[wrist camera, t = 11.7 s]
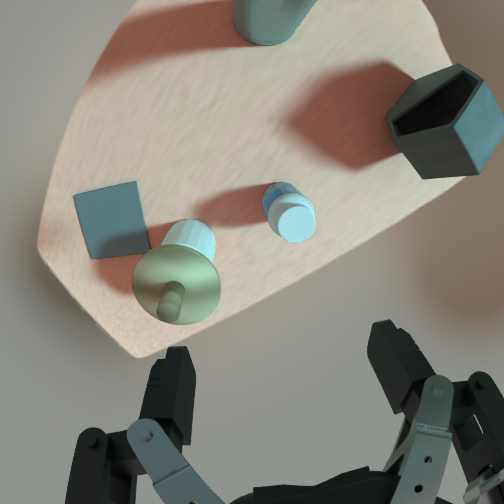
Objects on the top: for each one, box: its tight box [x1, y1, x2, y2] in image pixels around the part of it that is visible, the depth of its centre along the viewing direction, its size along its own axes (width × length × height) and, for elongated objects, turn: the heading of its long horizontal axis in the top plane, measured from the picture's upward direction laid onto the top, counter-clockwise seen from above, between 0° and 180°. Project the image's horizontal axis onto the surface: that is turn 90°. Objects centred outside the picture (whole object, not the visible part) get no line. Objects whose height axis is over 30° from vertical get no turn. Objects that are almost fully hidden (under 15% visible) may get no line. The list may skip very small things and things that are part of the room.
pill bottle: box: [262, 182, 316, 243], centre depth 37 cm, size 6×6×11 cm
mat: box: [74, 181, 151, 260], centre depth 42 cm, size 12×12×1 cm
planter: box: [386, 64, 504, 179], centre depth 29 cm, size 17×8×21 cm
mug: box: [160, 219, 216, 264], centre depth 41 cm, size 8×12×10 cm
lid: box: [132, 244, 221, 325], centre depth 34 cm, size 12×12×6 cm
